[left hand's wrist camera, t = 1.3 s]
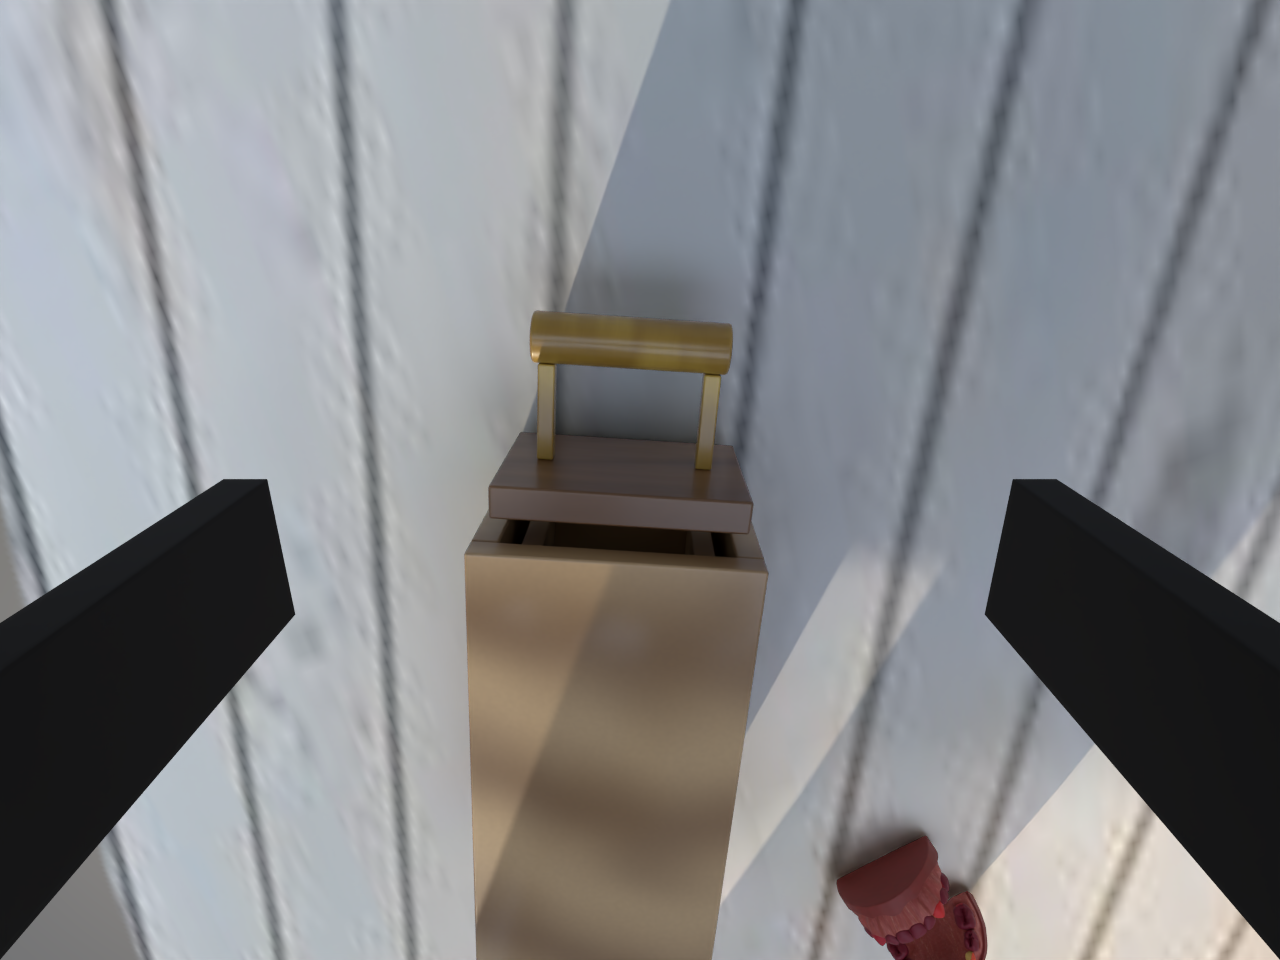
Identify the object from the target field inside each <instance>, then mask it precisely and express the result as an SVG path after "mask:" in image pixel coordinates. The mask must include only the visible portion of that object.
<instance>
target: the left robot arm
mask: <svg viewBox="0 0 1280 960" xmlns="http://www.w3.org/2000/svg"><path fill="white" fill-rule="evenodd" d="M294 615H295V611H294V606H293V602H292V597H291V592H290V587H289V582H288V578H287V573H286V568H285V563H284V558H283V553H282V549H281V544H280V539H279V534H278V529H277V525H276V520H275V515H274V510H273V505H272V501H271V496H270V491H269V486H268V481H267V479H223V480H222V481H220V482H219V483H217V484H215V485H214V486H212V487H211V488H209V489H208V490H206V491H205V492H203V493H202V494H200V495H198V496H197V497H195V498H194V499H192V500H191V501H189V502H188V503H186V504H184V505H183V506H181V507H180V508H178V509H177V510H175V511H174V512H172V513H170V514H169V515H167V516H166V517H164V518H163V519H161V520H160V521H158V522H156V523H155V524H153V525H152V526H150V527H149V528H147V529H146V530H144V531H143V532H141V533H139V534H138V535H136V536H135V537H133V538H132V539H130V540H129V541H127V542H125V543H124V544H122V545H121V546H119V547H118V548H116V549H115V550H113V551H111V552H110V553H108V554H107V555H105V556H104V557H102V558H101V559H99V560H97V561H96V562H94V563H93V564H91V565H90V566H88V567H87V568H85V569H84V570H82V571H80V572H79V573H77V574H76V575H74V576H73V577H71V578H70V579H68V580H66V581H65V582H63V583H62V584H60V585H59V586H57V587H56V588H54V589H52V590H51V591H49V592H48V593H46V594H45V595H43V596H42V597H40V598H38V599H37V600H35V601H34V602H32V603H31V604H29V605H28V606H26V607H24V608H23V609H21V610H20V611H18V612H17V613H15V614H14V615H12V616H11V617H9V618H7V619H6V620H4V621H3V622H1V623H0V959H1V958H2V957H3V956H4V954H5V953H6V952H7V951H8V950H9V949H10V947H11V946H12V945H13V944H14V943H15V942H16V940H17V939H18V938H19V937H20V936H21V935H22V933H23V932H24V931H25V930H26V929H27V928H28V926H29V925H30V924H31V923H32V922H33V920H34V919H35V918H36V917H37V916H38V915H39V913H40V912H41V911H42V910H43V909H44V908H45V906H46V905H47V904H48V903H49V902H50V901H51V899H52V898H53V897H54V896H55V895H56V894H57V892H58V891H59V890H60V889H61V888H62V887H63V885H64V884H65V883H66V882H67V881H68V880H69V878H70V877H71V876H72V875H73V874H74V873H75V871H76V870H77V869H78V868H79V867H80V866H81V864H82V863H83V862H84V861H85V860H86V858H87V857H88V856H89V855H90V854H91V853H92V851H93V850H94V849H95V848H96V847H97V846H98V844H99V843H100V842H101V841H102V840H103V839H104V837H105V836H106V835H107V834H108V833H109V832H110V830H111V829H112V828H113V827H114V826H115V825H116V823H117V822H118V821H119V820H120V819H121V818H122V816H123V815H124V814H125V813H126V812H127V811H128V809H129V808H130V807H131V806H132V805H133V804H134V802H135V801H136V800H137V799H138V798H139V797H140V795H141V794H142V793H143V792H144V791H145V790H146V788H147V787H148V786H149V785H150V784H151V783H152V781H153V780H154V779H155V778H156V777H157V775H158V774H159V773H160V772H161V771H162V770H163V768H164V767H165V766H166V765H167V764H168V763H169V761H170V760H171V759H172V758H173V757H174V756H175V754H176V753H177V752H178V751H179V750H180V749H181V747H182V746H183V745H184V744H185V743H186V742H187V740H188V739H189V738H190V737H191V736H192V735H193V733H194V732H195V731H196V730H197V729H198V728H199V726H200V725H201V724H202V723H203V722H204V721H205V719H206V718H207V717H208V716H209V715H210V713H211V712H212V711H213V710H214V709H215V708H216V706H217V705H218V704H219V703H220V702H221V701H222V699H223V698H224V697H225V696H226V695H227V694H228V692H229V691H230V690H231V689H232V688H233V687H234V685H235V684H236V683H237V682H238V681H239V680H240V678H241V677H242V676H243V675H244V674H245V673H246V671H247V670H248V669H249V668H250V667H251V666H252V664H253V663H254V662H255V661H256V660H257V659H258V657H259V656H260V655H261V654H262V653H263V652H264V650H265V649H266V648H267V647H268V646H269V644H270V643H271V642H272V641H273V640H274V639H275V637H276V636H277V635H278V634H279V633H280V632H281V630H282V629H283V628H284V627H285V626H286V625H287V623H288V622H289V621H290V620H291V619H292V618H293V616H294ZM985 615H986V616H987V618H988V619H989V620H990V621H991V622H992V623H993V625H994V626H995V627H996V628H997V629H998V630H999V632H1000V633H1001V634H1002V635H1003V636H1004V637H1005V639H1006V640H1007V641H1008V642H1009V643H1010V644H1011V646H1012V647H1013V648H1014V649H1015V650H1016V652H1017V653H1018V654H1019V655H1020V656H1021V657H1022V659H1023V660H1024V661H1025V662H1026V663H1027V664H1028V666H1029V667H1030V668H1031V669H1032V670H1033V671H1034V673H1035V674H1036V675H1037V676H1038V677H1039V678H1040V680H1041V681H1042V682H1043V683H1044V684H1045V685H1046V687H1047V688H1048V689H1049V690H1050V691H1051V692H1052V694H1053V695H1054V696H1055V697H1056V698H1057V699H1058V701H1059V702H1060V703H1061V704H1062V705H1063V706H1064V708H1065V709H1066V710H1067V711H1068V712H1069V713H1070V715H1071V716H1072V717H1073V718H1074V719H1075V721H1076V722H1077V723H1078V724H1079V725H1080V726H1081V728H1082V729H1083V730H1084V731H1085V732H1086V733H1087V735H1088V736H1089V737H1090V738H1091V739H1092V740H1093V742H1094V743H1095V744H1096V745H1097V746H1098V747H1099V749H1100V750H1101V751H1102V752H1103V753H1104V754H1105V756H1106V757H1107V758H1108V759H1109V760H1110V761H1111V763H1112V764H1113V765H1114V766H1115V767H1116V768H1117V770H1118V771H1119V772H1120V773H1121V774H1122V775H1123V777H1124V778H1125V779H1126V780H1127V781H1128V783H1129V784H1130V785H1131V786H1132V787H1133V788H1134V790H1135V791H1136V792H1137V793H1138V794H1139V795H1140V797H1141V798H1142V799H1143V800H1144V801H1145V802H1146V804H1147V805H1148V806H1149V807H1150V808H1151V809H1152V811H1153V812H1154V813H1155V814H1156V815H1157V816H1158V818H1159V819H1160V820H1161V821H1162V822H1163V823H1164V825H1165V826H1166V827H1167V828H1168V829H1169V830H1170V832H1171V833H1172V834H1173V835H1174V836H1175V837H1176V839H1177V840H1178V841H1179V842H1180V843H1181V844H1182V846H1183V847H1184V848H1185V849H1186V850H1187V852H1188V853H1189V854H1190V855H1191V856H1192V857H1193V859H1194V860H1195V861H1196V862H1197V863H1198V864H1199V866H1200V867H1201V868H1202V869H1203V870H1204V871H1205V873H1206V874H1207V875H1208V876H1209V877H1210V878H1211V880H1212V881H1213V882H1214V883H1215V884H1216V885H1217V887H1218V888H1219V889H1220V890H1221V891H1222V892H1223V894H1224V895H1225V896H1226V897H1227V898H1228V899H1229V901H1230V902H1231V903H1232V904H1233V905H1234V906H1235V908H1236V909H1237V910H1238V911H1239V912H1240V914H1241V915H1242V916H1243V917H1244V918H1245V919H1246V921H1247V922H1248V923H1249V924H1250V925H1251V926H1252V928H1253V929H1254V930H1255V931H1256V932H1257V933H1258V935H1259V936H1260V937H1261V938H1262V939H1263V940H1264V942H1265V943H1266V944H1267V945H1268V946H1269V947H1270V949H1271V950H1272V951H1273V952H1274V953H1275V954H1276V956H1277V957H1278V958H1279V959H1280V623H1279V622H1277V621H1276V620H1274V619H1273V618H1271V617H1269V616H1268V615H1266V614H1265V613H1263V612H1262V611H1260V610H1259V609H1257V608H1255V607H1254V606H1252V605H1251V604H1249V603H1248V602H1246V601H1245V600H1243V599H1242V598H1240V597H1238V596H1237V595H1235V594H1234V593H1232V592H1231V591H1229V590H1228V589H1226V588H1224V587H1223V586H1221V585H1220V584H1218V583H1217V582H1215V581H1214V580H1212V579H1210V578H1209V577H1207V576H1206V575H1204V574H1203V573H1201V572H1200V571H1198V570H1196V569H1195V568H1193V567H1192V566H1190V565H1189V564H1187V563H1186V562H1184V561H1183V560H1181V559H1179V558H1178V557H1176V556H1175V555H1173V554H1172V553H1170V552H1169V551H1167V550H1165V549H1164V548H1162V547H1161V546H1159V545H1158V544H1156V543H1155V542H1153V541H1151V540H1150V539H1148V538H1147V537H1145V536H1144V535H1142V534H1141V533H1139V532H1137V531H1136V530H1134V529H1133V528H1131V527H1130V526H1128V525H1127V524H1125V523H1124V522H1122V521H1120V520H1119V519H1117V518H1116V517H1114V516H1113V515H1111V514H1110V513H1108V512H1106V511H1105V510H1103V509H1102V508H1100V507H1099V506H1097V505H1096V504H1094V503H1092V502H1091V501H1089V500H1088V499H1086V498H1085V497H1083V496H1082V495H1080V494H1078V493H1077V492H1075V491H1074V490H1072V489H1071V488H1069V487H1068V486H1066V485H1065V484H1063V483H1061V482H1060V481H1058V480H1057V479H1013V481H1012V486H1011V491H1010V496H1009V501H1008V505H1007V510H1006V515H1005V520H1004V525H1003V529H1002V534H1001V539H1000V544H999V549H998V553H997V558H996V563H995V568H994V573H993V578H992V582H991V587H990V592H989V597H988V602H987V606H986V611H985Z"/></svg>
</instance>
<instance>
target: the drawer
mask: <svg viewBox="0 0 1280 960" xmlns="http://www.w3.org/2000/svg"><path fill="white" fill-rule="evenodd" d="M732 345H733V330H732V325H731V324H729V323H715V322H700V321H685V320H670V319H655V318H640V317H625V316H610V315H595V314H580V313H565V312H550V311H534V313H533V315H532V319H531V327H530V354H531V359H532V361H533V362H536V363H539V364H538V400H537V433H526V432H521V433H520V434H519V436H518V437H517V439H516V441H515V442H514V444H513V446H512V448H511V449H510V451H509V453H508V454H507V456H506V458H505V460H504V461H503V463H502V465H501V466H500V468H499V470H498V472H497V473H496V475H495V477H494V478H493V480H492V482H491V484H490V485H489V487H488V491H489V517H490V518H494V519H510V520H526V521H530V523H529V526H528V529H527V531H526V534H525V536H524V539H523V542H522V544H524V545H540V546H556V547H572V548H588V549H604V550H620V551H636V552H652V553H668V554H684V555H700V556H715V552H714V547H713V542H712V536H711V532H717V533H733V534H749V532H750V527H751V519H752V512H753V501H752V499H751V496H750V493H749V490H748V488H747V485H746V482H745V479H744V476H743V474H742V471H741V468H740V465H739V463H738V460H737V457H736V454H735V452H734V449H733V446H727V445H714V440H715V431H716V421H717V412H718V403H719V393H720V384H721V376H720V375H726V374H727V373H728V371H729V368H730V363H731V356H732ZM557 364H567V365H582V366H597V367H612V368H627V369H643V370H658V371H673V372H688V373H703V380H702V390H701V401H700V411H699V421H698V431H697V441H696V443H681V442H665V441H650V440H634V439H619V438H603V437H588V436H572V435H557V434H555V422H556V375H557Z"/></svg>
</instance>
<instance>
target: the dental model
mask: <svg viewBox="0 0 1280 960" xmlns="http://www.w3.org/2000/svg"><path fill="white" fill-rule="evenodd" d="M937 860H938V853H937V851H936V849H935V848H934V846H933V845H932V843H931V842H930V840H929V839H928V838H927V836H924V837H921V838H919V839H917V840H915V841H913V842H911V843H909V844H907V845H905V846H903V847H901V848H899V849H897V850H895V851H893V852H891V853H889V854H887V855H885V856H883V857H881V858H879V859H877V860H875V861H873V862H871V863H869V864H867V865H865V866H863V867H861V868H859V869H857V870H855V871H853V872H851V873H849V874H847V875H845V876H843V877H841V878H839V879H838V880H837V888H838V892H839V894H840V896H841V898H842V899H843V901H844V902H845V904H846V905H847V907H848V908H849V909H850V910H852V911H853V912H854V913H855V914H856V915H857V916H858V918H859V920H860V922H861V924H862V925H863V926H864V929H865V931H866V932H867V933H868V934H869V935H870V936H871V937H872V938H874V939H875V940H876V941H877V942H878V943H879V944H880V945H882V946H883V945H884V944H885V943H887V948H888V950H889V952H890V953H891V954H892V956H893V957H894V959H895V960H985V958H986V954H987V935H986V927H985V923H984V920H983V917H982V914H981V912H980V909H979V907H978V905H977V903H976V901H975V899H974V897H973V895H972V894H971V893H969V892H968V891H966V892H962V893H960V894H958V895H956V896H954V897H952V898H951V899H950V900H949V901H947V900H948V898H949V895H948V891H949V888H950V887H949V881H948V879H947V877H946V876H945V875H944V874H943V873H942V872H941V870H940V868H939V866H938V862H937Z"/></svg>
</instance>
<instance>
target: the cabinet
mask: <svg viewBox="0 0 1280 960" xmlns="http://www.w3.org/2000/svg"><path fill="white" fill-rule="evenodd" d="M529 523H530V521H526V520H510V519H494V518H490V517H489V509H488V511H487V513H486V515H485V517H484V519H483V521H482V522H481V524H480V526H479V528H478V530H477V532H476V534H475V535H474V537H473V539H472V541H471V543H470V545H469V546H468V548H467V550H466V552H465V554H464V559H465V593H466V626H467V660H468V693H469V726H470V760H471V793H472V827H473V860H474V894H475V927H476V960H712V954H713V947H714V940H715V933H716V927H717V920H718V913H719V906H720V899H721V893H722V886H723V879H724V872H725V865H726V859H727V852H728V845H729V838H730V832H731V825H732V818H733V811H734V804H735V798H736V791H737V784H738V777H739V770H740V764H741V757H742V750H743V743H744V736H745V730H746V723H747V716H748V709H749V702H750V696H751V689H752V682H753V675H754V669H755V662H756V655H757V648H758V641H759V635H760V628H761V621H762V614H763V607H764V601H765V594H766V587H767V580H768V570H767V567H766V564H765V561H764V557H763V554H762V551H761V548H760V545H759V542H758V539H757V536H756V534H755V531H754V528H753V525H752V522H751V527H750V532H749V534H733V533H717V532H711V536H712V542H713V547H714V552H715V556H700V555H684V554H668V553H652V552H636V551H620V550H604V549H588V548H572V547H556V546H540V545H524V544H522V542H523V539H524V536H525V534H526V531H527V529H528V526H529Z"/></svg>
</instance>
